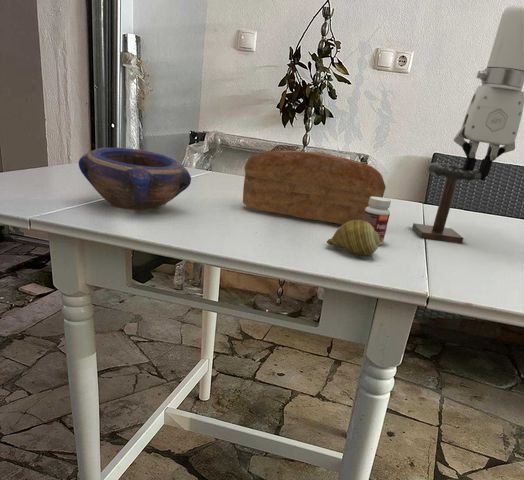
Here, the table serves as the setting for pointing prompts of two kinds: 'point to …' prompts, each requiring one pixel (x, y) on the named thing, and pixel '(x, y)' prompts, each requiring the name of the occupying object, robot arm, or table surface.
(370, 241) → the seashell
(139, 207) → the bowl
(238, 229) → the table surface
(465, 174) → the ring
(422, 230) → the stand
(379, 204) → the pill bottle
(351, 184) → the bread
